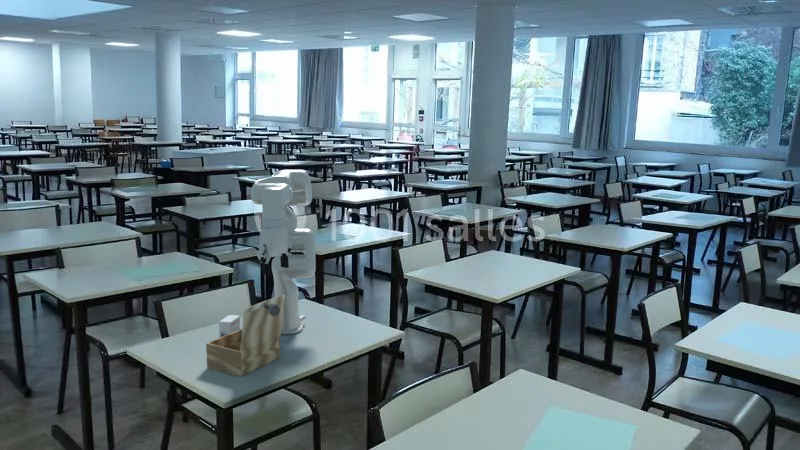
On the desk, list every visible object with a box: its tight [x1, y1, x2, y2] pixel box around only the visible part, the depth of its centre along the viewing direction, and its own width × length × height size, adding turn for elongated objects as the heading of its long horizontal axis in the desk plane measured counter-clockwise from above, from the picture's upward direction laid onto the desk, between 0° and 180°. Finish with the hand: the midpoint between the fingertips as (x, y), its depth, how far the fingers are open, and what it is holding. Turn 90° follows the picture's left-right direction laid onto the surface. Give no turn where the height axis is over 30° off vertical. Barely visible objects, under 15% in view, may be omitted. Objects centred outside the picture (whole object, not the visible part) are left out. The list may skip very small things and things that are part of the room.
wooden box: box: [205, 328, 281, 378], centre depth 225 cm, size 20×16×9 cm
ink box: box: [218, 314, 241, 338], centre depth 239 cm, size 9×5×12 cm, turn 168°
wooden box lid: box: [240, 294, 285, 352], centre depth 216 cm, size 20×16×7 cm
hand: (275, 270), depth 220 cm, fingers open, 9 cm apart
